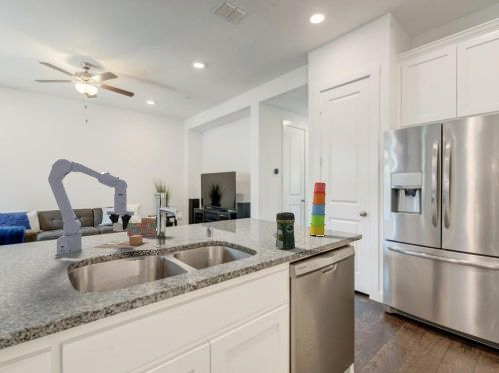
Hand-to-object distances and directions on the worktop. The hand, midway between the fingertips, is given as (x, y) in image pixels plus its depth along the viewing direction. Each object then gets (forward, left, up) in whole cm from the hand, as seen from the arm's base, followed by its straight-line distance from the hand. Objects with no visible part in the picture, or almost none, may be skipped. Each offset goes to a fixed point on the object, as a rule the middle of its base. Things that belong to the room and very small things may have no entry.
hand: (120, 229), depth 131 cm
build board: (+1, -1, -9) cm, 9 cm away
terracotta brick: (+5, -6, -8) cm, 11 cm away
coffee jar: (+14, -84, -10) cm, 86 cm away
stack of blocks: (+27, +2, -10) cm, 28 cm away
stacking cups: (+51, -104, -10) cm, 117 cm away
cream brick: (0, 0, -1) cm, 1 cm away
